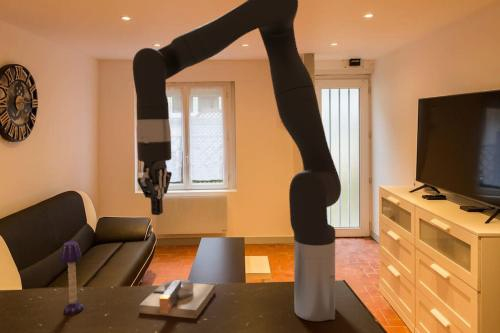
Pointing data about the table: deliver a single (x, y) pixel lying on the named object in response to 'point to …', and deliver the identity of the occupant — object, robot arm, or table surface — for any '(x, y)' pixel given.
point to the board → (180, 301)
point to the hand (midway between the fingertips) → (157, 214)
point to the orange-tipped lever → (174, 294)
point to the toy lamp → (71, 275)
